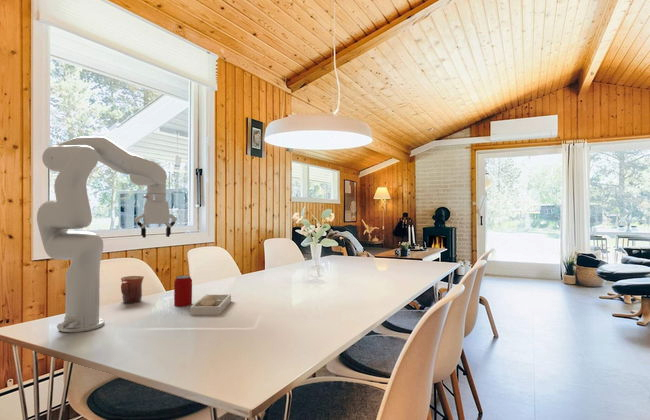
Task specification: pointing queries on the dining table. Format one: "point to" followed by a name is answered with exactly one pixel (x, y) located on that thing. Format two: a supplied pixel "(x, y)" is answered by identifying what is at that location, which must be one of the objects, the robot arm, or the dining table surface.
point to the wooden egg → (208, 301)
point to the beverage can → (182, 291)
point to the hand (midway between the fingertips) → (156, 237)
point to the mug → (131, 288)
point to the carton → (211, 310)
